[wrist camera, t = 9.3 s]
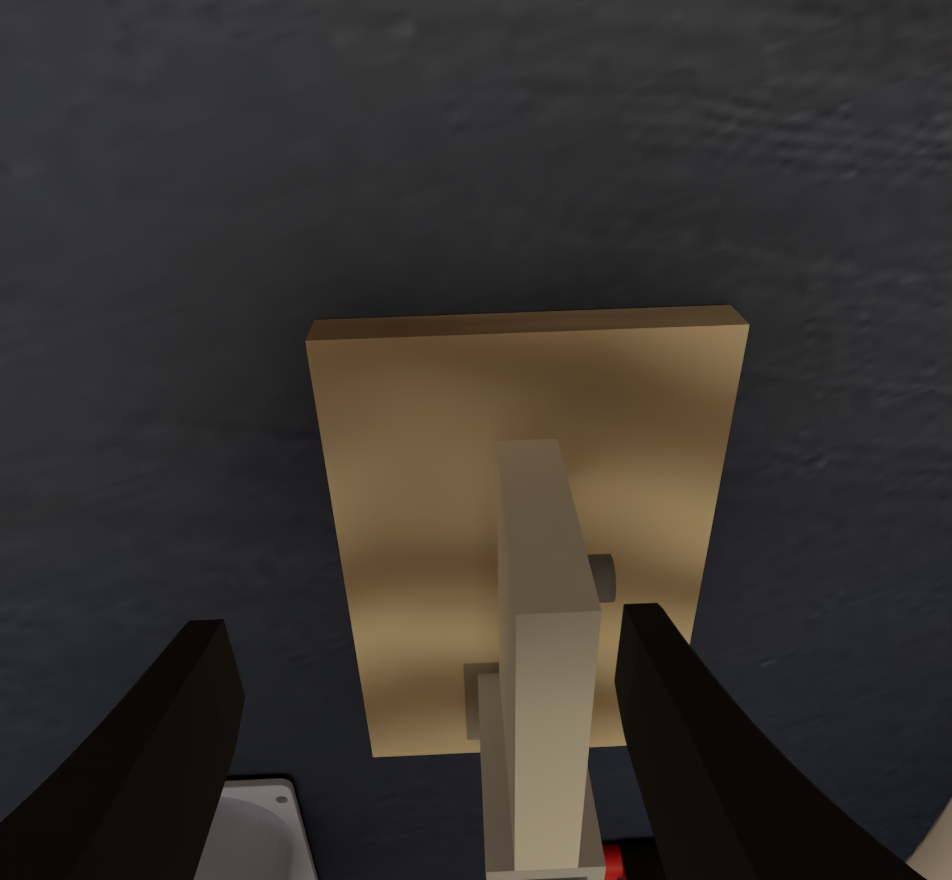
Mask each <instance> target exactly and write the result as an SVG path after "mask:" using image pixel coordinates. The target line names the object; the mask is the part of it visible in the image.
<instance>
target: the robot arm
mask: <svg viewBox="0 0 952 880" xmlns="http://www.w3.org/2000/svg"><path fill="white" fill-rule="evenodd" d="M614 683H615V689H616V694H617V700H618V706H619V712H620V717H621V722H622V727H623V733H624V737H625V741H626V744H627V748H628V751H629V754H630V758H631V761H632V765H633V768H634V771H635V775H636V778H637V781H638V785H639V788H640V791H641V795H642V798H643V801H644V805H645V808H646V811H647V815H648V818H649V821H650V825H651V828H652V831H653V835H654V838H655V841H656V845H657V848H658V851H659V854H660V858H661V861H662V865H663V869H664V873H665V877H666V880H927V879H925V878H924V877H922V876H921V875H920V874H919V873H917V872H916V871H914V870H913V869H912V868H911V867H909V866H908V865H907V864H906V863H905V862H903V861H902V860H901V859H900V858H899V857H897V856H896V855H895V854H894V853H892V852H891V851H890V850H889V849H888V848H886V847H885V846H884V845H883V844H881V843H880V842H879V841H878V840H877V839H875V838H874V837H873V836H872V835H870V834H869V833H868V832H867V831H866V830H864V829H863V828H862V827H861V826H859V825H858V824H857V823H856V822H855V821H854V820H852V819H851V818H850V817H849V816H848V815H847V814H846V813H845V812H843V811H842V810H841V809H840V808H839V807H838V806H837V805H836V804H835V803H833V802H832V801H831V800H830V799H829V798H828V797H827V796H826V795H825V794H824V793H822V792H821V791H820V790H819V789H818V788H817V787H816V786H815V785H814V784H813V783H812V782H811V781H810V780H809V779H808V778H807V777H806V776H805V775H804V774H803V773H801V772H800V771H799V770H798V769H797V768H796V767H795V766H794V765H793V764H792V763H791V762H790V761H789V760H788V759H787V758H786V757H785V756H784V755H783V754H782V752H781V751H780V750H779V749H778V748H777V747H776V746H775V745H774V744H773V743H772V742H771V741H770V740H769V739H768V738H767V737H766V736H765V734H764V733H763V732H762V731H761V730H760V729H759V728H758V727H757V726H756V725H755V724H754V723H753V721H752V720H751V719H750V718H749V717H748V716H747V715H746V714H745V712H744V711H743V710H742V709H741V708H740V707H739V706H738V704H737V703H736V702H735V701H734V700H733V698H732V697H731V696H730V695H729V694H728V692H727V691H726V690H725V689H724V688H723V686H722V685H721V684H720V683H719V682H718V680H717V679H716V678H715V677H714V676H713V674H712V673H711V672H710V671H709V669H708V668H707V667H706V666H705V664H704V663H703V662H702V661H701V659H700V658H699V657H698V655H697V654H696V653H695V651H694V650H693V649H692V648H691V646H690V645H689V644H688V642H687V641H686V640H685V638H684V637H683V636H682V634H681V633H680V631H679V630H678V629H677V627H676V626H675V625H674V623H673V622H672V620H671V619H670V618H669V616H668V615H667V613H666V612H665V610H664V609H663V608H662V607H661V606H660V605H659V604H658V603H638V604H624V606H623V614H622V622H621V630H620V638H619V646H618V654H617V663H616V671H615V679H614ZM244 699H245V694H244V691H243V687H242V683H241V680H240V676H239V673H238V669H237V665H236V662H235V658H234V655H233V651H232V648H231V644H230V640H229V637H228V633H227V630H226V626H225V623H224V619H220V620H194V621H189V622H188V623H187V624H186V625H185V626H184V627H183V628H182V629H181V630H180V632H179V633H178V634H177V635H176V636H175V637H174V639H173V640H172V641H171V642H170V643H169V645H168V646H167V647H166V648H165V649H164V651H163V652H162V653H161V654H160V655H159V657H158V658H157V659H156V660H155V661H154V663H153V664H152V665H151V666H150V667H149V668H148V670H147V671H146V672H145V673H144V674H143V676H142V677H141V678H140V679H139V680H138V681H137V683H136V684H135V685H134V686H133V687H132V688H131V690H130V691H129V692H128V693H127V694H126V695H125V696H124V697H123V699H122V700H121V701H120V702H119V703H118V704H117V705H116V706H115V708H114V709H113V710H112V711H111V712H110V713H109V714H108V715H107V717H106V718H105V719H104V720H103V721H102V722H101V723H100V724H99V725H98V727H97V728H96V729H95V730H94V731H93V732H92V733H91V734H90V735H89V736H88V737H87V738H86V739H85V740H84V741H83V742H82V743H81V744H80V746H79V747H78V748H77V749H76V750H75V751H74V752H73V753H72V754H71V755H70V756H69V757H68V758H67V759H66V760H65V761H64V762H63V763H62V764H61V765H60V766H59V767H58V768H57V769H56V770H55V771H54V772H53V773H52V774H51V775H50V776H49V777H48V778H47V779H46V780H45V781H44V782H43V783H42V784H41V785H40V786H39V787H38V788H37V789H36V790H35V791H34V792H33V793H32V794H31V795H30V796H29V797H28V798H27V799H26V800H24V801H23V802H22V803H21V804H20V805H19V806H18V807H17V808H16V809H15V810H14V811H13V812H11V813H10V814H9V815H8V816H7V817H6V818H5V819H4V820H3V821H2V822H1V823H0V880H318V877H317V874H316V870H315V866H314V862H313V859H312V855H311V851H310V847H309V844H308V840H307V836H306V833H305V829H304V825H303V821H302V818H301V814H300V810H299V806H298V803H297V799H296V795H295V791H294V788H293V785H292V783H291V782H290V781H289V780H287V779H282V778H277V779H255V780H234V781H226V777H227V774H228V771H229V768H230V765H231V761H232V758H233V755H234V751H235V746H236V741H237V736H238V732H239V727H240V721H241V716H242V710H243V705H244Z"/></svg>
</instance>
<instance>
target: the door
mask: <svg viewBox="0 0 952 880" xmlns="http://www.w3.org/2000/svg"><path fill="white" fill-rule="evenodd" d="M496 449H497V531H498V613H499V673H485V674H478V702H479V730H480V753H481V776H482V799H483V822H484V845H485V868H486V880H604V878H605V871H606V863H605V858H604V853H603V847H602V842H601V836H600V831H599V826H598V820H597V815H596V809H595V804H594V799H593V793H592V788H591V782H590V777H589V771H588V766H587V764H588V753H589V742H590V731H591V721H592V710H593V699H594V688H595V677H596V666H597V656H598V645H599V634H600V623H601V612H602V611H601V607H600V603H611V602H614V601H615V598H616V573H615V566H614V562H613V558H612V556H611V554H589V555H587V552H586V548H585V544H584V540H583V536H582V532H581V529H580V525H579V521H578V517H577V513H576V509H575V505H574V501H573V497H572V493H571V489H570V486H569V482H568V478H567V474H566V470H565V466H564V462H563V458H562V454H561V450H560V447H559V443H558V439H557V438H556V439H531V440H505V441H496Z"/></svg>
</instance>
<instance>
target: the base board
mask: <svg viewBox="0 0 952 880" xmlns="http://www.w3.org/2000/svg"><path fill="white" fill-rule="evenodd" d="M749 325H750V324H749V323H748V322H747V321H746V320H745V319H744V318H743V317H742V316H741V315H740V314H739V313H738V312H737V311H736V310H735V309H734V308H733V307H732V306H731V305H710V306H682V307H655V308H628V309H600V310H573V311H545V312H518V313H490V314H463V315H435V316H408V317H380V318H353V319H325V320H314V322H313V324H312V326H311V328H310V331H309V333H308V335H307V338H306V340H305V343H306V349H307V355H308V361H309V367H310V374H311V380H312V386H313V392H314V398H315V404H316V410H317V416H318V423H319V429H320V435H321V441H322V447H323V453H324V459H325V466H326V472H327V478H328V484H329V490H330V496H331V502H332V508H333V515H334V521H335V527H336V533H337V539H338V545H339V551H340V557H341V564H342V570H343V576H344V582H345V588H346V594H347V600H348V607H349V613H350V619H351V625H352V631H353V637H354V643H355V649H356V656H357V662H358V668H359V674H360V680H361V686H362V692H363V698H364V705H365V711H366V717H367V723H368V729H369V735H370V741H371V748H372V754H373V757H388V756H410V755H432V754H453V753H475V752H480V730H479V702H478V674H485V673H499V613H498V531H497V449H496V441H505V440H531V439H556V438H557V439H558V443H559V447H560V450H561V454H562V458H563V462H564V466H565V470H566V474H567V478H568V482H569V486H570V489H571V493H572V497H573V501H574V505H575V509H576V513H577V517H578V521H579V525H580V529H581V532H582V536H583V540H584V544H585V548H586V552H587V555H589V554H611V556H612V558H613V562H614V566H615V573H616V598H615V601H614V602H611V603H600V607H601V611H602V612H601V623H600V634H599V645H598V656H597V666H596V677H595V688H594V699H593V710H592V721H591V731H590V742H589V747H605V746H626V745H627V744H626V741H625V737H624V733H623V727H622V722H621V717H620V712H619V706H618V700H617V694H616V689H615V683H614V679H615V671H616V663H617V654H618V646H619V638H620V630H621V622H622V614H623V606H624V604H638V603H658V604H659V605H660V606H661V607H662V608H663V609H664V610H665V612H666V613H667V615H668V616H669V618H670V619H671V620H672V622H673V623H674V625H675V626H676V627H677V629H678V630H679V631H680V633H681V634H682V636H683V637H684V638H685V640H686V641H687V642H688V644H689V645H690V639H691V634H692V629H693V623H694V618H695V613H696V607H697V602H698V597H699V591H700V586H701V581H702V575H703V570H704V565H705V559H706V554H707V549H708V543H709V538H710V533H711V527H712V522H713V517H714V511H715V506H716V501H717V495H718V490H719V485H720V479H721V474H722V469H723V463H724V458H725V453H726V448H727V442H728V437H729V432H730V426H731V421H732V416H733V410H734V405H735V400H736V394H737V389H738V384H739V378H740V373H741V368H742V362H743V357H744V352H745V346H746V341H747V336H748V330H749Z"/></svg>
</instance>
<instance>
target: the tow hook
mask: <svg viewBox="0 0 952 880" xmlns="http://www.w3.org/2000/svg"><path fill="white" fill-rule="evenodd" d="M602 847H603V853H604V858H605V863H606V871H605V878H604V880H617V877H621V880H666V877H665V873H664V869H663V865H662V861H661V858H660V854H659V851H658V848H657V845H656V841H655V840H651V841H627V842H619V843H618V844H615V845H602Z"/></svg>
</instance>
